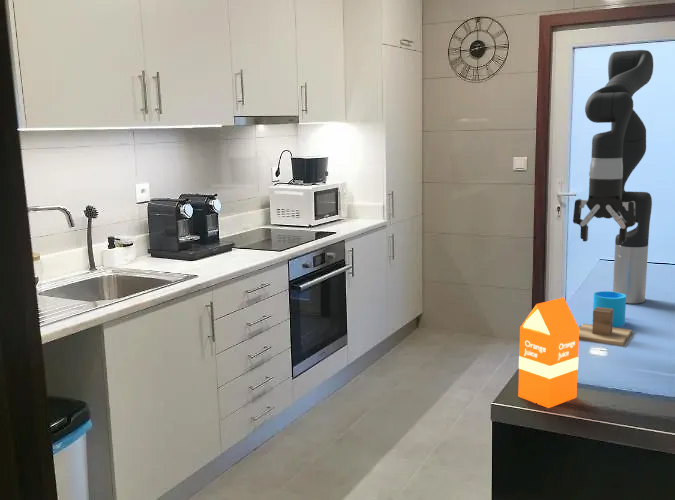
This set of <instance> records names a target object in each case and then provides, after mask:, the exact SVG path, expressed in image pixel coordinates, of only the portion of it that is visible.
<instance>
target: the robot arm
mask: <svg viewBox="0 0 675 500" xmlns="http://www.w3.org/2000/svg"><path fill="white" fill-rule="evenodd" d="M607 64H608V65H607V70H608V71H607V73H608V82H607V83H606V84H605V86H603V87H601V88H598V89H597V90H595V91H594V92H592V93H591V94H590V96H589V97H588V99H587V101H586V102H585V106H584V112H585V116H586V118H587V119H588V120H589V121H590V122H592V123H596V124H597V123H598V124H600V123H603V124H605V123H606V124H608V123H611V127H610V130H608V131H604V132H598V133H596V134H594V135H593V137H592V140H591V157H590V158H591V161H590V165H589V173H588V176H589V183H588V199H587V200H586V199H582V198H578V199H576V200H575V201H574V206H573V207H574V208H573V217H572V223H573V224H576V225H579V227H580V239H581V240H582V242H587V241H588V240H589V225H588V224H589V222H590V221H591V220H592V219H593V218H596V219H601V218H603V219H604V218H605V219H613V220H614V221H615V223H617V224H618V226H619V227H620V228H619V232H618V234H616V235H615V239H614V240H615V243H614V259H613V260H614V261H613V262H614V263H613V264H614V265H613V280H612V292H618V293H622V294H625V295H626V304H642V303H644V302H646V291H647V289H646V288H647V286H646V285H647V275H648V274H647V271H648V255H649V238H650V225H651V224H650V223H651V214H652V209H653V208H652V206H653V201H652V200H653V199H652V195H651V194H650V193H649V191H648V192H647V191H628V190H627V191H626V190H625V187H626V183H627V181H628V180H629V178H630V176H631V174H632V172H634V170H635V169H636V168H637V166H638V165H639V163H640V162H641V160H642V159H643V158H644V156H645V154H646V152H647V128H646V125H645V124H644V122H643V120H642V119H641V117H640V116H639V115H638V113H637V112H636V111H635V109H634V100H633V96H634V94H635V93H637V92H638V91H639V90H641V89H642V88H643V87H644V86H646V85H647V84H648V83H650V80H651V79H652V76H653V73H654V57H653V55H652V52H651V51H649V50H646V49H637V50H636V49H635V50H634V49H633V50H621V51H614V52H612V53H611V54H610V56H609V58H608V63H607ZM585 205H586V207H587V208H588V209H589V212H588V213H587V214H586V216H585V217H584V218H583V219H582V217H581V216H582V209H583V208H585ZM636 223H637V225H636ZM635 225H636V227H634V226H635ZM631 227H634V228H633V229H631V230H629V231H628V228H631Z"/></svg>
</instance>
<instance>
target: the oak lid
mask: <svg viewBox="0 0 675 500" xmlns="http://www.w3.org/2000/svg"><path fill="white" fill-rule="evenodd" d="M612 324H613V309H610V308H601V307H596V308H595V309H594V311H593V310H592V324H589V323H583V324H581V325H582V326H581V327H580V328H579V340H587V341H594V342H601V343H608V344H615V345H622V346H623V344H624V343H625V341H626V340H627V338H628V337H629V336H630V334H631V333H632V332H633V331H632V330H633V329H629V328H619V327H612Z"/></svg>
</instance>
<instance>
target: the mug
mask: <svg viewBox="0 0 675 500" xmlns="http://www.w3.org/2000/svg"><path fill="white" fill-rule="evenodd" d="M592 304H593V306H592V312H593V311H594V309H595V308H596V307H601V308H610V309H613V324H612V327H614V328H619V327H623V326H625V324H626V322H625V321H626V309H627V308H626V304H627V303H626V295H625V294H622V293H618V292H613V291H606V290H605V291H597V292H593V303H592Z"/></svg>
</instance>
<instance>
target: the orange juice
mask: <svg viewBox="0 0 675 500" xmlns="http://www.w3.org/2000/svg"><path fill="white" fill-rule="evenodd" d="M579 344H580V341H579V325H578V323H577V321H576V319H575V317H574V315H573V314H572V311H571V309H570V307H569V305H568V303H567V301H566V299H565V297H563V296H562V297H560V298H557V299H551V300H549V301H544V302H543V301H542V302H539V303H536V304H535V306H534V307H533V309H532V310H531V311H530V313H529V314H528V316H527V317H526V318H525V320H524V321H523V322H522V324H521V325H520V327H519V355H518V391H517V392H518V395H517V396H518V397H519V398H521V399H524V400H527V401H528V402H531V403H534V404H536V403H537V404H536V405H539V406H542V407H545V408H547V409H550V408H553V407H555V406H558V405H560V404H563V403H565V402H568V401H571V400H574V399H576V398H577V393H578V392H577V391H578V370H579V347H580V345H579Z"/></svg>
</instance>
